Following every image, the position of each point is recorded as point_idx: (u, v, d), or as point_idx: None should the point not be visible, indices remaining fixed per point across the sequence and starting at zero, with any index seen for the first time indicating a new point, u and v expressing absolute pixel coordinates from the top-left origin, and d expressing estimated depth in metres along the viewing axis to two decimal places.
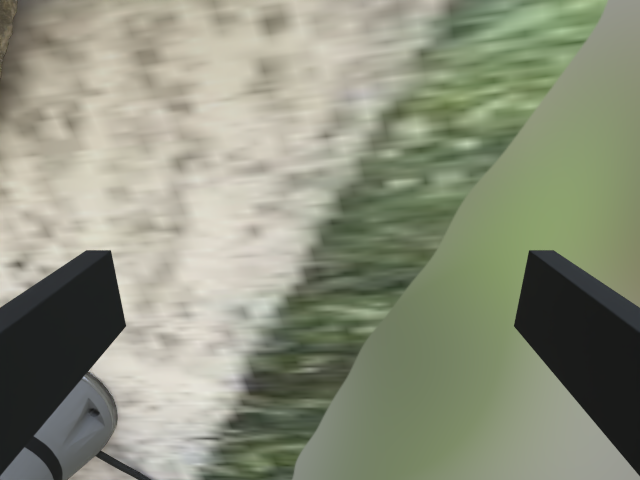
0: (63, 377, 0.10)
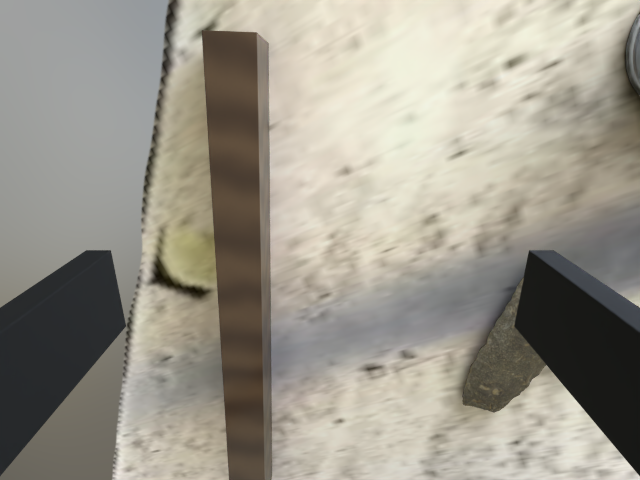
0: (63, 377, 0.10)
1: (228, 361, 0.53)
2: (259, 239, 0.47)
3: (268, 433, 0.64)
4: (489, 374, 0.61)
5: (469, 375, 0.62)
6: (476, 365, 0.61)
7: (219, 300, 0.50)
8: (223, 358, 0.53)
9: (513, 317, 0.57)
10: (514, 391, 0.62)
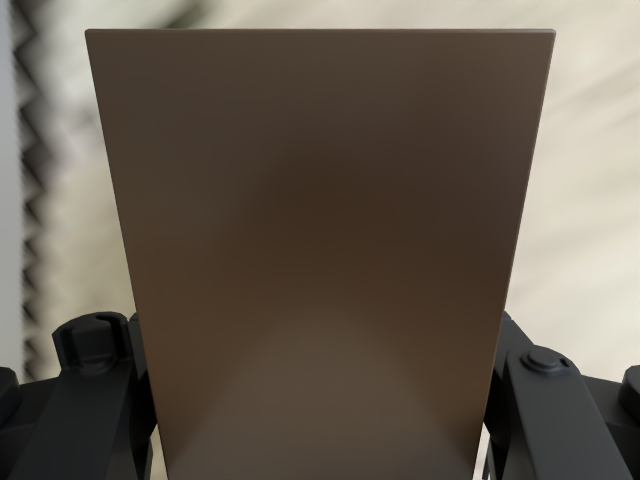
0: None
1: None
2: None
3: None
4: None
5: None
6: None
7: None
8: None
9: None
10: None
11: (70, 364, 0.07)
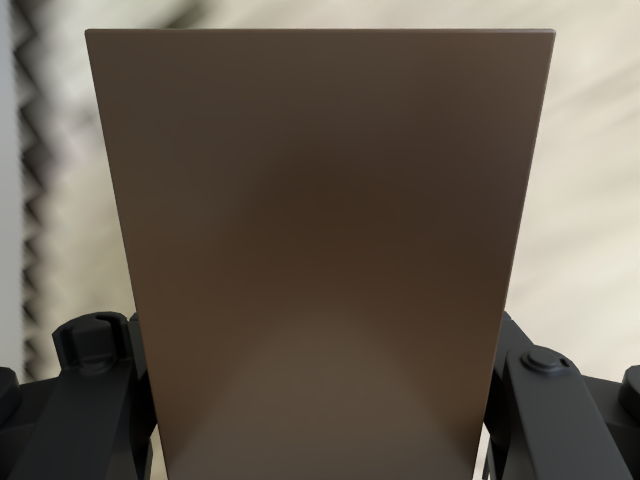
0: None
1: None
2: None
3: None
4: None
5: None
6: None
7: None
8: None
9: None
10: None
11: (70, 364, 0.07)
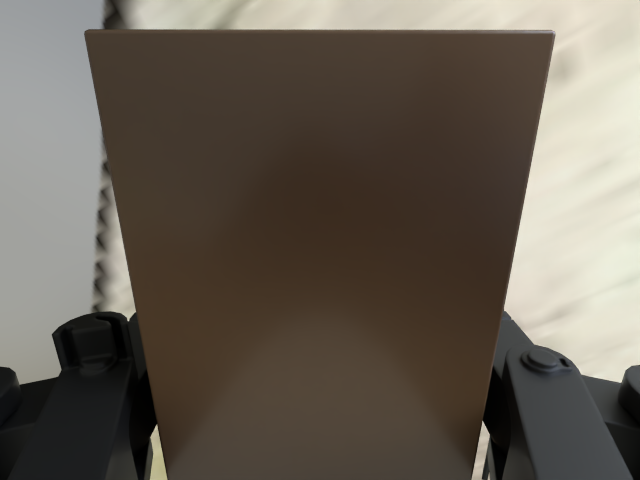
0: None
1: None
2: None
3: None
4: None
5: None
6: None
7: None
8: None
9: None
10: None
11: (70, 364, 0.07)
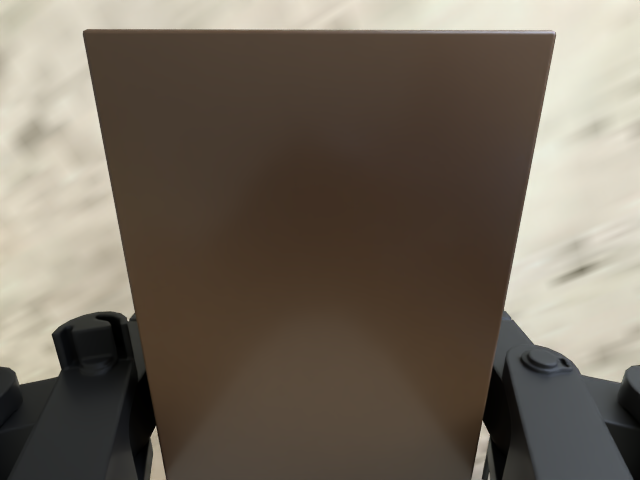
0: None
1: None
2: None
3: None
4: None
5: None
6: None
7: None
8: None
9: None
10: None
11: (70, 364, 0.07)
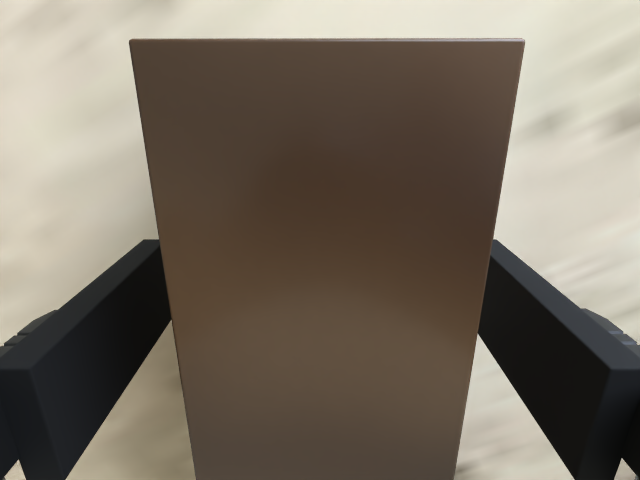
0: (134, 353, 0.11)
1: None
2: None
3: None
4: None
5: None
6: None
7: None
8: None
9: None
10: None
11: None
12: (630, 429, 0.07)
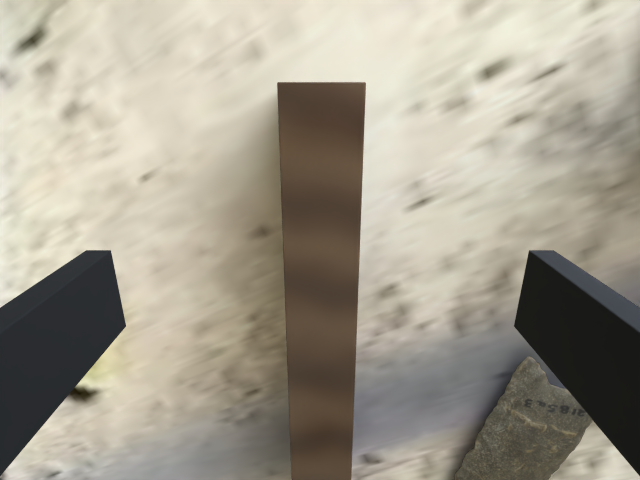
0: (63, 377, 0.10)
1: None
2: (353, 372, 0.32)
3: None
4: None
5: None
6: (462, 474, 0.45)
7: (292, 449, 0.35)
8: None
9: (508, 416, 0.42)
10: None
11: None
12: None
